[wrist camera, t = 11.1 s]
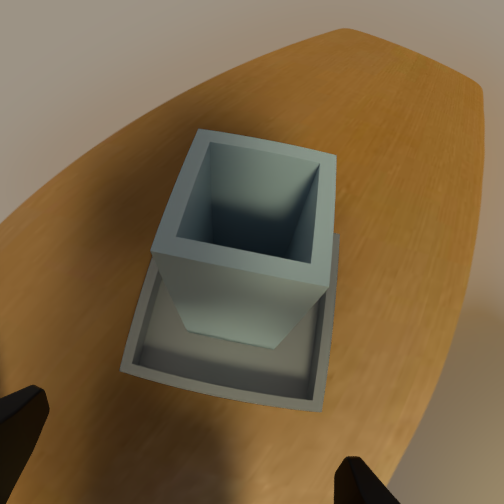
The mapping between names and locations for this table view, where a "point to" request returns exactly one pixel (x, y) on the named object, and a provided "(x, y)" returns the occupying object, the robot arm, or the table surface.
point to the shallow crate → (232, 352)
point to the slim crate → (247, 237)
